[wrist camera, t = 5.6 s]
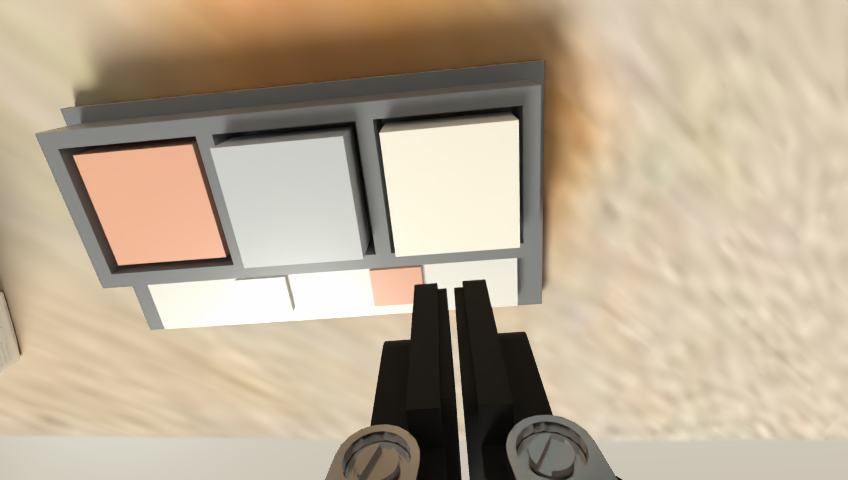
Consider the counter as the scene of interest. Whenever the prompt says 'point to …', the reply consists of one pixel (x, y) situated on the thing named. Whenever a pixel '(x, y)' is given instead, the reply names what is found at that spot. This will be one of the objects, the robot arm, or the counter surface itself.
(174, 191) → the terracotta key
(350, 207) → the grey key
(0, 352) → the syrup box
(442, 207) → the cream key
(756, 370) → the counter surface
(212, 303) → the keypad
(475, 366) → the robot arm
